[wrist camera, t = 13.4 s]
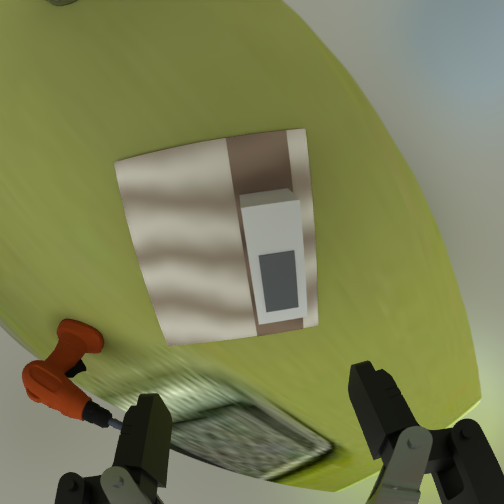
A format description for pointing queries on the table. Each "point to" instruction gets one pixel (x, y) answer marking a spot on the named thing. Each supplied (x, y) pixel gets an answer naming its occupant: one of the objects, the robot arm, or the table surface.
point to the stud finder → (275, 254)
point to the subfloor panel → (212, 231)
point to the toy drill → (68, 375)
